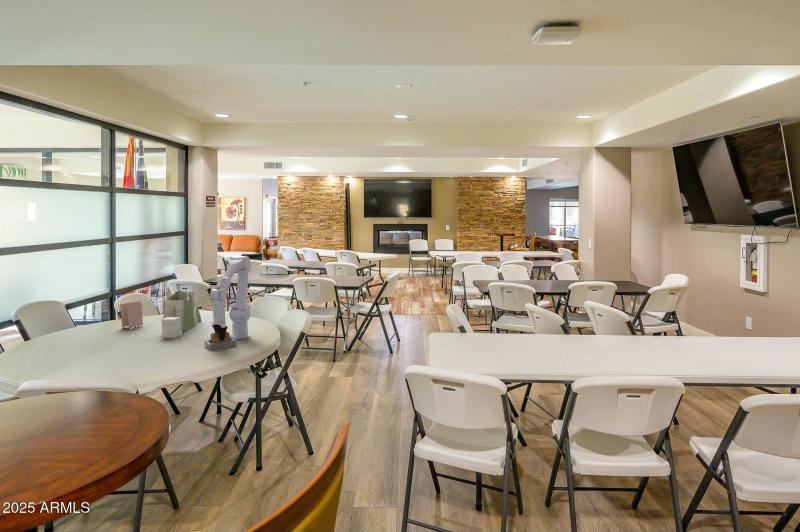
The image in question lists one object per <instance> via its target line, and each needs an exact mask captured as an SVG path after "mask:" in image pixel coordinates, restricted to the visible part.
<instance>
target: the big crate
mask: <svg viewBox="0 0 800 532" xmlns="http://www.w3.org/2000/svg"><path fill="white" fill-rule="evenodd" d="M237 340H238V339H235V338H233V337H232V336H231V335H230V341H225V342H219V343H211V338H210V339H205V340H204V347H205V346H206V348H207V350H209V349H210V350H209V351H214V350H213V349H215V350H219V349H218V348H221V349H225V348H224V347H227V348H231V347H230V346H234V347H237V346H238V343H237V342H238V341H237ZM236 345H237V346H236Z"/></svg>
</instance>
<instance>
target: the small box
mask: <svg viewBox="0 0 800 532" xmlns="http://www.w3.org/2000/svg"><path fill="white" fill-rule="evenodd" d="M160 321H161V329H162V330H161V331H162V338H163V337H166V338H165V339H178V338H179V337H181V336H182V334H183V333H181V321H180V317H167V318H164V319H163V318H162V319H161V320H160Z"/></svg>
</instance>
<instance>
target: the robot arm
mask: <svg viewBox="0 0 800 532" xmlns="http://www.w3.org/2000/svg"><path fill="white" fill-rule="evenodd" d="M227 263H228V264H227V265H228V266H227V269H226V271H225V273H224V276H222V277H220V278H219V280H218V282H217V284H216V286H215V288H213V289H211V290H210V291H209V296H208V297H209V299H210V304H211V305H212V318H213V319H212V320H213V321H211V322H210V324H211V327H212V328H213V330H214V333H217V332H218V335H219V340H220V341H221V340H224V339H225V334H226V331H227V330H228V328H229V327H228V326H227V324H226V323H227V321H226V308H225V300H226V299H227V295H228V289H229V288H230V286H231V283H232V281H231V280H232V279H233V276H234V275H235V273H237V274H238V276H237V284H236V294H235V296H236V297H235V302H234V304H232V305H231V308H230V309H229V315H228V316H229V319H230V320H231V322H232V324H231V325H232V326H231V327H232V328H231V329H232V334H231V335H230V336H231V337H232V338H234V339H235V340H240V339H247V338H246V337H248V338H251V335H249V332H248V331H249V329H248V328H249V327H248V321H249V320H250V319H251V307H250V305H248V304H247V292H248V282H249V280H248V279H249V273H250V271H251V263H252V261H251V259H250V257H249V256H248V255H241V256H240V255H230V257H229V259H228V261H227Z"/></svg>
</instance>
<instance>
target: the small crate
mask: <svg viewBox="0 0 800 532" xmlns="http://www.w3.org/2000/svg"><path fill="white" fill-rule="evenodd" d="M230 336H231V335H230V332H229V331H227V330H226V334H225V339H224V340H221V341H220V340H219V335H218V332H217V333H215V332H213V333H211V332H210V339H211V343H219V342H225V341H230Z"/></svg>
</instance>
